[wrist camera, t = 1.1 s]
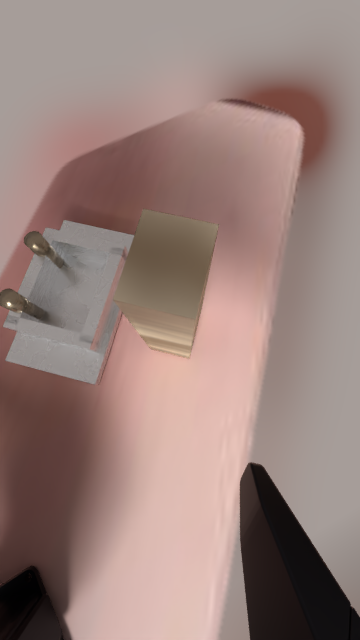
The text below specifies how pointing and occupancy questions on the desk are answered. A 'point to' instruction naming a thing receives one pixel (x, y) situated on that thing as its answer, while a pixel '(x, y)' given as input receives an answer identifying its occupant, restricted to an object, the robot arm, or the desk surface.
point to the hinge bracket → (68, 301)
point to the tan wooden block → (166, 279)
